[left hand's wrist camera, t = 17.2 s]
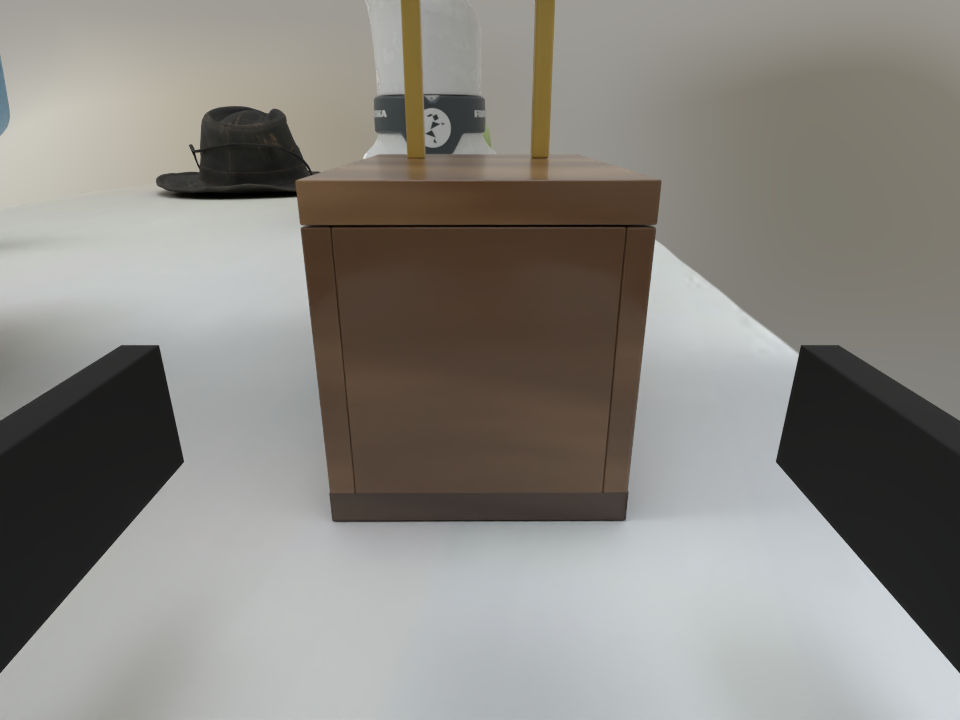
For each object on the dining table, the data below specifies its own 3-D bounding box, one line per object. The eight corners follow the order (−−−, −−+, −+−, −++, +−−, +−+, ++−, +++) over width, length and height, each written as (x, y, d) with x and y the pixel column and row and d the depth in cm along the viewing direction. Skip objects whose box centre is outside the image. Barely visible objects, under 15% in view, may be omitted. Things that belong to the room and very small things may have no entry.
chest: (388, 365, 31) (377, 181, 27) (567, 365, 31) (578, 181, 27) (332, 520, 19) (299, 227, 15) (625, 519, 19) (657, 227, 15)
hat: (367, 180, 127) (362, 107, 122) (297, 200, 95) (286, 102, 89) (229, 178, 132) (218, 108, 126) (116, 196, 99) (95, 103, 94)
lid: (379, 179, 28) (365, -51, 25) (575, 179, 28) (589, -51, 25) (299, 225, 15) (248, -236, 12) (657, 224, 15) (707, -235, 12)
